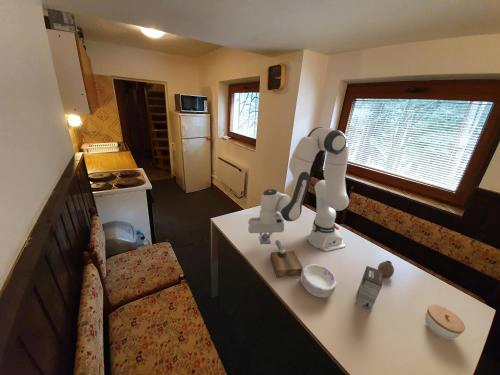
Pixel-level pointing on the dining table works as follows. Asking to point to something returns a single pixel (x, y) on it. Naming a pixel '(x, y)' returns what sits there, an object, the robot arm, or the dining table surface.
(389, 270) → the vase
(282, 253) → the lever handle
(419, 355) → the dining table surface
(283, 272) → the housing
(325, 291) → the white round bowl
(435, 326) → the lidded jar
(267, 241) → the cover
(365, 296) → the coffee box
